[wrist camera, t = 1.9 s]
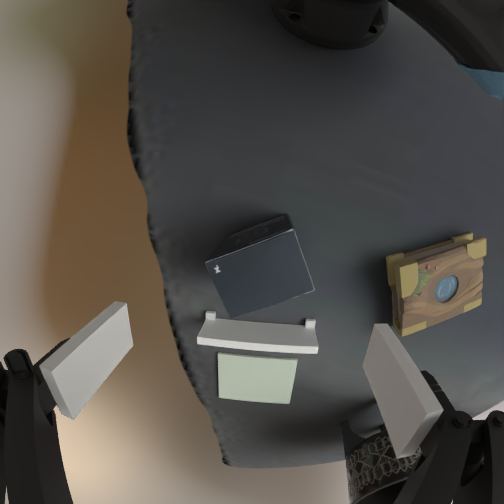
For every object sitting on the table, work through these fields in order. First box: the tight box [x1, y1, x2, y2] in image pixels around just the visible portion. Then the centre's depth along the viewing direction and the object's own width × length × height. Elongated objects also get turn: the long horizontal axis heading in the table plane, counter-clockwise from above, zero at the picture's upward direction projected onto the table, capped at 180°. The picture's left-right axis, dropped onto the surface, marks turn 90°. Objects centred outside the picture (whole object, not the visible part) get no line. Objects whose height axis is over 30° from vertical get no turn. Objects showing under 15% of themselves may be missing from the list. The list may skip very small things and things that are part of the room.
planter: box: [341, 421, 422, 504], centre depth 29 cm, size 13×13×18 cm
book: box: [386, 232, 486, 337], centre depth 29 cm, size 15×11×5 cm
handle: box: [197, 311, 319, 354], centre depth 32 cm, size 3×14×5 cm, turn 87°
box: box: [205, 214, 315, 318], centre depth 27 cm, size 8×6×11 cm
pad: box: [218, 352, 297, 404], centre depth 37 cm, size 9×11×1 cm
